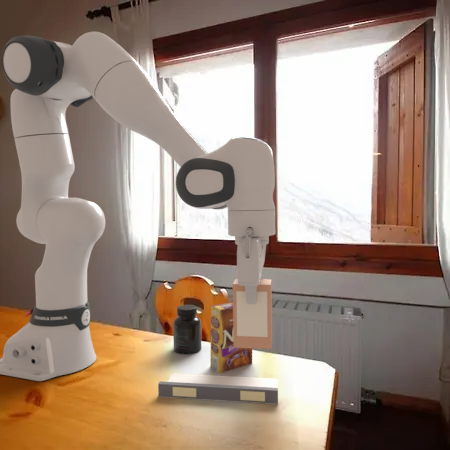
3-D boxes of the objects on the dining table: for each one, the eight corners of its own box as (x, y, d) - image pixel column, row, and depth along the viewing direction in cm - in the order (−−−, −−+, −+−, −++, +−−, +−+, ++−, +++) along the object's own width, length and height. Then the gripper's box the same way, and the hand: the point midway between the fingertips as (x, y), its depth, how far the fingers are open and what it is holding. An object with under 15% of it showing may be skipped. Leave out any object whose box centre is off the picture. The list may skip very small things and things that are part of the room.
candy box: (220, 380, 77) (219, 309, 76) (209, 373, 81) (208, 304, 80) (253, 370, 82) (253, 302, 81) (242, 363, 86) (241, 298, 85)
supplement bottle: (187, 347, 96) (187, 302, 95) (207, 353, 91) (206, 306, 91) (168, 355, 90) (167, 307, 90) (187, 363, 86) (186, 312, 85)
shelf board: (158, 404, 68) (157, 384, 68) (172, 380, 78) (172, 362, 77) (278, 412, 65) (277, 391, 65) (277, 386, 75) (277, 367, 74)
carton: (271, 349, 67) (270, 284, 66) (233, 347, 68) (232, 284, 67) (272, 339, 72) (271, 279, 71) (236, 338, 73) (235, 278, 72)
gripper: (266, 230, 58) (268, 316, 58) (270, 221, 78) (270, 286, 79) (227, 230, 58) (228, 315, 59) (240, 222, 79) (241, 285, 80)
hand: (252, 298), depth 69 cm, fingers closed on carton, 5 cm apart
